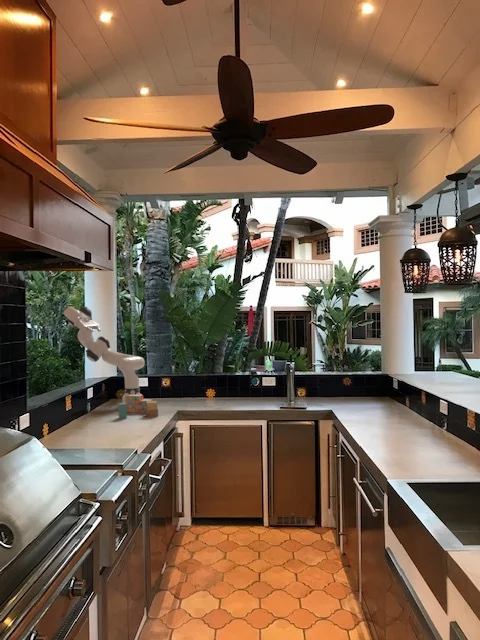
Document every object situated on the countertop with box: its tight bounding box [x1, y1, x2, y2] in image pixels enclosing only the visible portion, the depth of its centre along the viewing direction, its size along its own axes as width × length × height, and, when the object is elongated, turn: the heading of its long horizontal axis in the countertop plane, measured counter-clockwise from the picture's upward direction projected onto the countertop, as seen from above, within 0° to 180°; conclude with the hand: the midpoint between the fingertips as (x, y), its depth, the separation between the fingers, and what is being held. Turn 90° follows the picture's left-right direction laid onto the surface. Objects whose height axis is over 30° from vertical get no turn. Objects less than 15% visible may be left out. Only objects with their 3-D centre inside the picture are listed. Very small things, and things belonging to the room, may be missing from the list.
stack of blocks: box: [125, 394, 154, 414], centre depth 359 cm, size 21×6×12 cm, turn 63°
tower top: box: [146, 400, 158, 410], centre depth 342 cm, size 7×7×5 cm
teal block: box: [118, 402, 128, 420], centre depth 336 cm, size 5×5×10 cm
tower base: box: [145, 408, 159, 418], centre depth 342 cm, size 8×8×5 cm
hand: (96, 331), depth 352 cm, fingers open, 8 cm apart
